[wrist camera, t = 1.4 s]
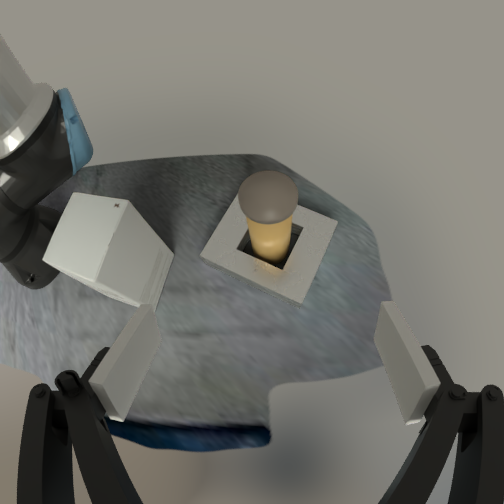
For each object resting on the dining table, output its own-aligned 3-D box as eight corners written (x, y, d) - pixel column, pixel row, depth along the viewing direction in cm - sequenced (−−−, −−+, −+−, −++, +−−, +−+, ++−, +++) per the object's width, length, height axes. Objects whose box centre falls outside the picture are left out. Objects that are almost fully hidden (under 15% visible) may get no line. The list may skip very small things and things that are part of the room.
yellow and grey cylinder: (241, 256, 39) (227, 206, 27) (261, 222, 41) (254, 163, 29) (281, 274, 38) (283, 229, 26) (299, 238, 40) (307, 182, 28)
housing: (204, 263, 39) (199, 255, 37) (245, 195, 43) (243, 184, 40) (299, 308, 36) (301, 303, 33) (334, 231, 40) (338, 221, 37)
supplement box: (126, 241, 42) (73, 188, 28) (176, 254, 40) (131, 197, 27) (105, 296, 39) (39, 259, 25) (154, 314, 37) (93, 282, 23)
